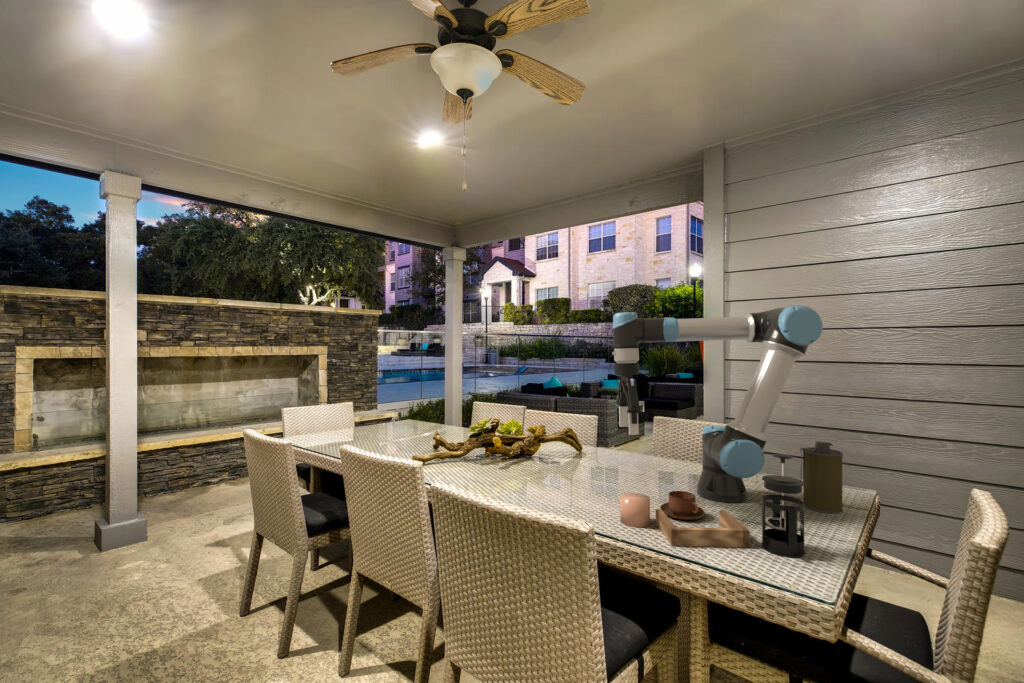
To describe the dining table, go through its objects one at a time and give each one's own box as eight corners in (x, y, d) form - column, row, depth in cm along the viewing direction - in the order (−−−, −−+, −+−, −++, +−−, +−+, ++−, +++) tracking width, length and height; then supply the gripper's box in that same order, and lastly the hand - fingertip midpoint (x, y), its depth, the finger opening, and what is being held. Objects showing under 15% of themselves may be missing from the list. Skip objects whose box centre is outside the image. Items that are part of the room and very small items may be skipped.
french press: (755, 538, 122) (755, 449, 122) (795, 541, 120) (795, 450, 120) (771, 559, 110) (770, 460, 111) (815, 562, 109) (815, 462, 109)
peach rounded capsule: (645, 517, 137) (645, 493, 137) (653, 528, 129) (653, 502, 129) (618, 516, 137) (618, 492, 137) (623, 527, 129) (623, 501, 129)
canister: (839, 504, 148) (839, 440, 148) (846, 515, 139) (846, 447, 139) (798, 500, 153) (798, 437, 153) (803, 510, 143) (803, 443, 143)
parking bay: (724, 524, 131) (724, 510, 132) (749, 546, 117) (749, 530, 117) (655, 523, 132) (655, 509, 132) (671, 545, 118) (671, 529, 118)
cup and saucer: (710, 516, 139) (710, 494, 139) (692, 527, 130) (692, 504, 130) (672, 505, 147) (672, 486, 147) (652, 515, 139) (652, 494, 139)
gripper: (607, 361, 160) (609, 424, 160) (622, 364, 135) (625, 438, 135) (629, 360, 160) (631, 423, 160) (649, 363, 135) (651, 437, 135)
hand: (628, 430), depth 147 cm, fingers open, 13 cm apart
